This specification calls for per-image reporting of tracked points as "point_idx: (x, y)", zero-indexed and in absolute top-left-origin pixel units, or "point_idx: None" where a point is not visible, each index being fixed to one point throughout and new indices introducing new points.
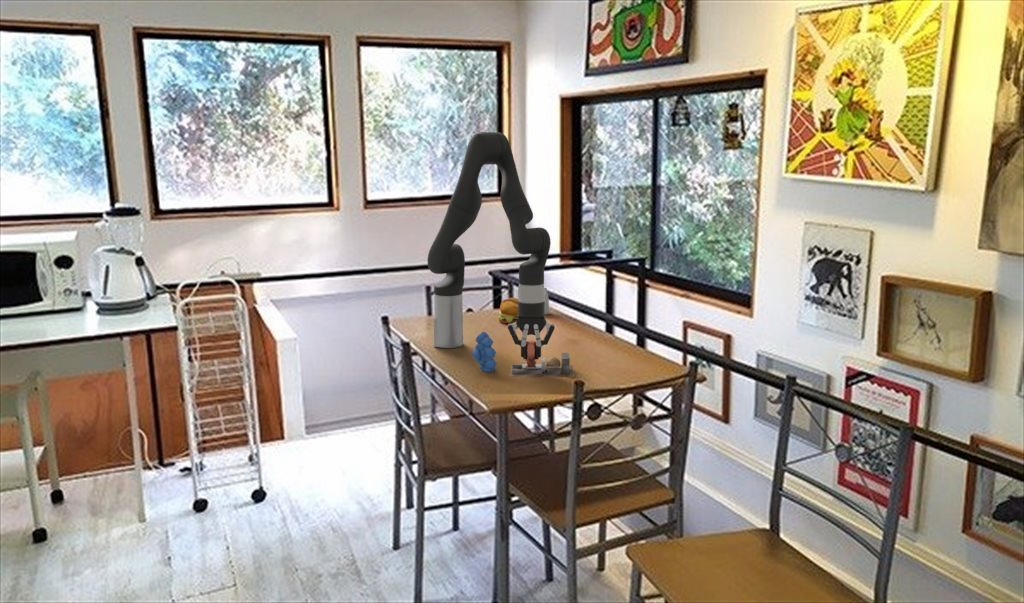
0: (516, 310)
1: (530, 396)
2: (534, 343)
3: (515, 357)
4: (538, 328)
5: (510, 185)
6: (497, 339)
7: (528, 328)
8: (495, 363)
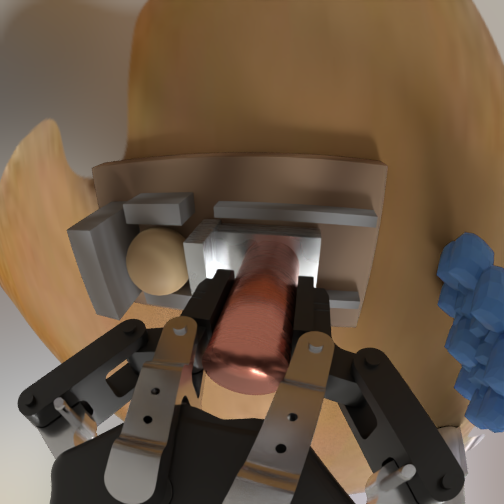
0: None
1: None
2: (213, 342)
3: None
4: (127, 450)
5: None
6: (331, 460)
7: (236, 482)
8: (460, 254)
